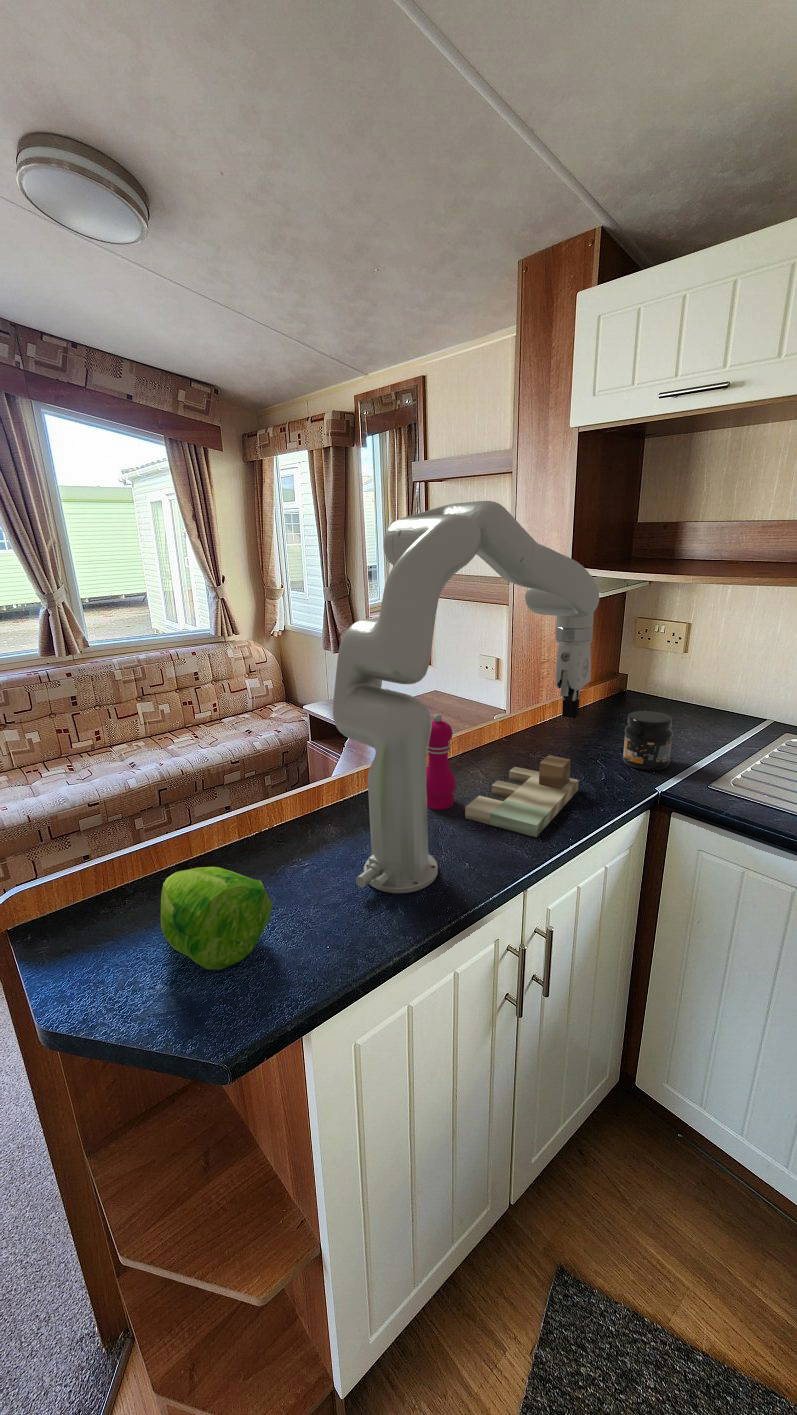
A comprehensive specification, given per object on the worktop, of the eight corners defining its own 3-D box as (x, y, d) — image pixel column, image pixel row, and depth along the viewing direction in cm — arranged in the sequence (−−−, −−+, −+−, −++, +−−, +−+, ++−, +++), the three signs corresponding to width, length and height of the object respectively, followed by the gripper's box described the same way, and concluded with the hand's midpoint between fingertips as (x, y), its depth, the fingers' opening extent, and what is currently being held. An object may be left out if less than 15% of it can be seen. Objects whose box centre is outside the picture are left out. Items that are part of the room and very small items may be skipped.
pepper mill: (454, 812, 118) (453, 720, 112) (419, 810, 119) (417, 719, 114) (457, 796, 125) (457, 709, 119) (424, 795, 126) (422, 708, 120)
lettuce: (219, 893, 93) (209, 828, 90) (293, 949, 80) (285, 875, 76) (133, 936, 84) (119, 865, 80) (201, 1008, 70) (187, 926, 67)
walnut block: (561, 789, 121) (562, 767, 119) (538, 784, 123) (539, 762, 122) (569, 780, 125) (570, 759, 123) (547, 776, 127) (548, 755, 126)
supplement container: (613, 759, 142) (616, 713, 139) (649, 753, 145) (653, 708, 141) (641, 774, 132) (645, 725, 129) (679, 768, 135) (684, 720, 132)
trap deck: (536, 837, 107) (536, 825, 106) (465, 818, 115) (465, 806, 114) (577, 790, 126) (578, 779, 125) (514, 776, 134) (514, 766, 133)
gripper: (580, 642, 114) (576, 729, 119) (602, 629, 125) (597, 709, 131) (543, 639, 118) (541, 723, 123) (568, 628, 129) (565, 705, 135)
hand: (570, 716), depth 127 cm, fingers closed
